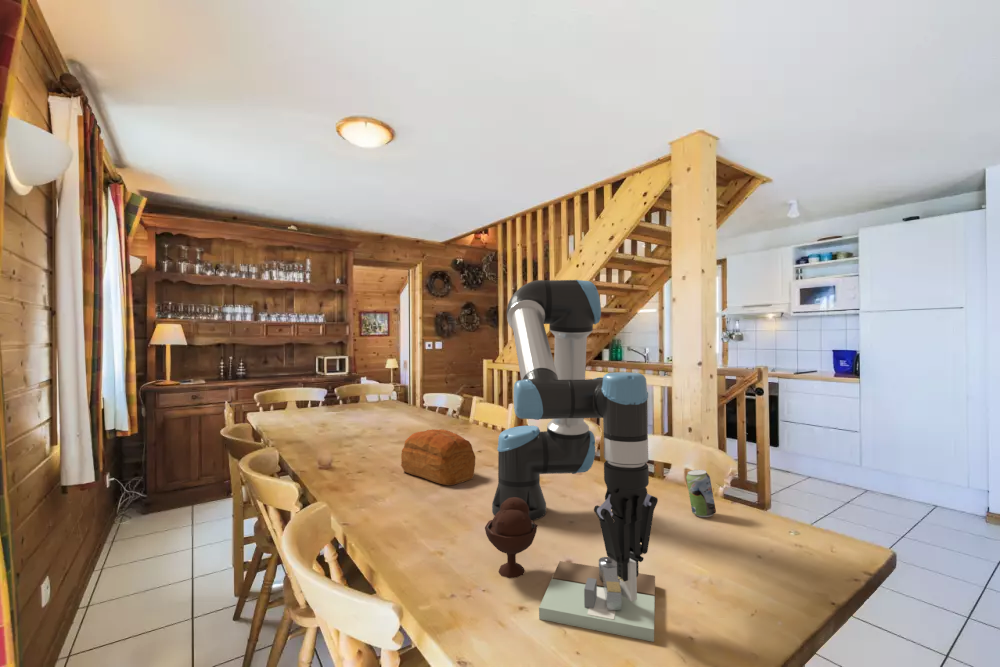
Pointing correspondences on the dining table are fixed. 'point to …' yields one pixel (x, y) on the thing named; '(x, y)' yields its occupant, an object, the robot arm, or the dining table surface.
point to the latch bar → (610, 583)
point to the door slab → (597, 609)
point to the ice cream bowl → (511, 534)
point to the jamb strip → (582, 572)
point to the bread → (438, 457)
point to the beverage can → (700, 493)
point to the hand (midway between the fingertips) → (628, 596)
